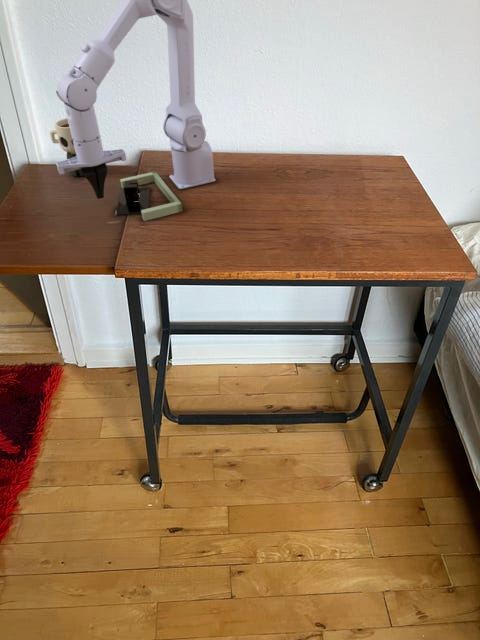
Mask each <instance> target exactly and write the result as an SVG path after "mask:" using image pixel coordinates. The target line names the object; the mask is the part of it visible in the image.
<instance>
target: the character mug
mask: <svg viewBox="0 0 480 640" xmlns="http://www.w3.org/2000/svg"><path fill="white" fill-rule="evenodd" d="M54 127H55V129H51V130H49V134H50V135H49V136H50V138H51V142H52V143H53V144H59V147H60V148H61V150H63V151H64V152H66V160H67V159H70V158H73V157H76V152H75V148H74V144H73V139H72V135H71V131H70V127H69V123H68V119H67V117H65V118H62V119H59V120H57V121H56V122H54ZM55 135H56V136H57V138H56V136H55ZM92 168H93V167H92ZM68 174H69V175H71V176H75V177H77V174H79V176H84V175H83V173H82V171H81V169H78V170H74V171H69V172H68Z"/></svg>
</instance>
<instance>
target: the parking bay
mask: <svg viewBox="0 0 480 640" xmlns="http://www.w3.org/2000/svg"><path fill="white" fill-rule="evenodd" d="M150 178H153V179H150ZM143 179H148V180H144V181H139V182H138V185H139V186H143V185H147V184H150V183H151V184H152V183H155V185H156V186H157V187H158V188H159V190H160V191H161V192H162V194H163V195H164V196H165V198H166V199H167V200H168V201H169V202H168V203H164V204H161V205H157V206H152V207H148V209H144V210H141V213H142V214H141V218H142V220H143V221H144V222H146V221H149V220H150V221H151V220H154V219H158V218H161V217H166V216H170V215H173V214H179V213H182V212H183V204H182V202H181V201H180V200H179V198H178V197H177V196H176V194H175V193H174V192H173V191H172V190H171V189H170V188H169V186H168V185H167V184H166V182H165V181H164V179H162V177H160V174H158V173H157V172H156V171H151V172H147V173H142V174H137V175H133V176H128V177H124V178H119V182H120V186H121V189H124V183H125V181H129V180H143Z"/></svg>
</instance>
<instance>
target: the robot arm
mask: <svg viewBox="0 0 480 640" xmlns="http://www.w3.org/2000/svg"><path fill="white" fill-rule="evenodd" d="M153 16H157V17H158V18H160V19H161V20H162V21H163V22H164V23H165V25H166V29H167V31H166V33H167V53H168V55H167V57H168V74H169V95H170V98H169V99H170V102H169V103H168V105H167V106H166V108H165V118H164V121H163V124H162V125H163V126H162V129H163V133H164V134H165V136H166V137H167V138H168V139H169V143H170V152H171V159H172V161H171V162H172V168H173V174H170V175H169V179H170V180H171V181H172V182H173V184H174V185H175V186H176V187H177V188H178V189H179V190H185V189H189V188H193V187H197V186H201V185H206V184H209V183H214V182H216V177H215V167H214V166H215V165H214V155H213V150H212V147H211V145H210V143H209V141H207V140H206V136H207V132H206V127H205V125H204V123H203V115H202V113H201V111H200V110H199V108H198V106H197V104H196V93H195V92H196V90H195V89H196V88H195V87H196V86H195V46H194V45H195V44H194V43H195V42H194V41H195V39H194V13H193V11H192V9H191V6H190V4H189V1H188V0H120V2H119V4H118V5H117V7H116V9H115V10H114V12H113V14H112V16H111V18H110V19H109V20H108V22H107V25H106V26H105V28H104V30H103V31H102V33H101V34H100V37H98V39H95V40H89V41H88V42H87V44H86V43H83V45H82V46H81V47H80V50H81V51H82V52H81V54H80V55H79V57H78V58H77V59H76V61H75V63H74V64H73V66H72V67H71V66H70V67H69V68H68V70H67V72H68V73H66V74H64V75H62V77H60V79H59V81H58V82H57V89H56V91H55V93H56V95H57V97H58V99H59V100H60V101H61V102H62V103H63V106H64V109H65V114H66V118H67V119H68V123H69V127H70V131H71V135H72V139H73V144H74V148H75V152H76V157H73V158H70V159H67V158H66V159H65V160H62V161H58V162H55V165H56V168H57V172H58V174H59V175H65V174H66V173H69V171H74V170H78V169H81V171H82V173H83V175H82V176H84V177H85V179H86V180H87V181H88V182H89V184H90V185H91V187H92V189H93V192H94V194H95V197H96V199H98V200H100V199H104V198H105V193H104V189H105V182H106V178H107V175H108V172H109V169H108V167H107V164H111V163H114V162H119V161H121V162H125V161H127V156H126V151H125V150H124V149H123V148H120V149H110V150H104V148H103V147H104V146H103V142H102V137H101V133H100V129H99V128H100V127H99V124H98V123H99V122H98V119H97V113H96V110H95V106H94V104H96V102H97V97H98V94H97V93H98V92H97V91H98V88H99V87H100V85H101V83H102V82H103V80H104V79H105V78H106V76H107V75H108V74H109V71H110V70H111V69H112V67H113V65H114V64H115V62H116V60H115V59H116V58H115V51H116V50H117V48H118V47H119V46H120V44H121V43H122V41H124V39H125V38H126V36H127V35H128V34H129V32H130V31H131V30H132V28H133V27H134V26H135V25H136V23H137V22H138V20H139V19H143V18H148V17H153ZM92 167H93V168H92Z"/></svg>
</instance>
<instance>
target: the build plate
mask: <svg viewBox="0 0 480 640" xmlns="http://www.w3.org/2000/svg"><path fill="white" fill-rule="evenodd" d="M138 193H140V197H139V195H138ZM150 194H151V187H140V185H138V180H129V181H125V183H124V189H123V188H121V189H120V193H119V198H118V203H117V207H116V210H115V214H114V215H115V216H116V217H121V216H122V217H123V216H134V215H135V216H136V215H142V213H141V210H144V209H148V208H149V203H150ZM134 201H139V202H134Z"/></svg>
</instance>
